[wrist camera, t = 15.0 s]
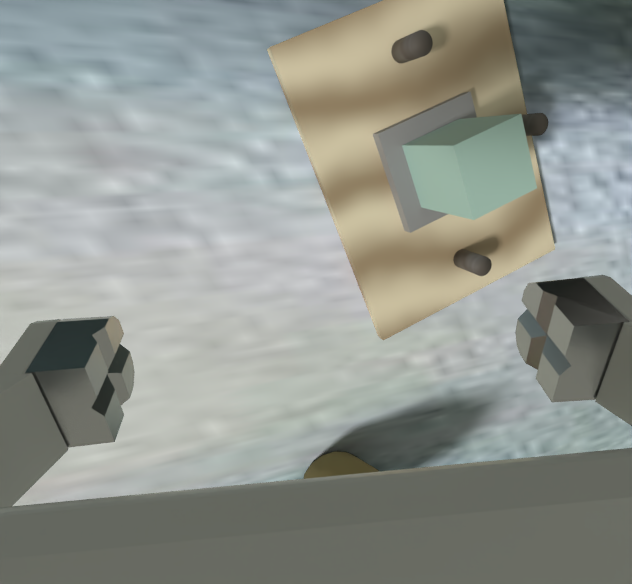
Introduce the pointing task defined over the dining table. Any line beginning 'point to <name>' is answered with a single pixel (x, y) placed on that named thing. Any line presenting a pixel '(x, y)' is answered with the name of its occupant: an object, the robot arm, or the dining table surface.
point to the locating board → (390, 108)
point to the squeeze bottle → (337, 465)
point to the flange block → (454, 162)
